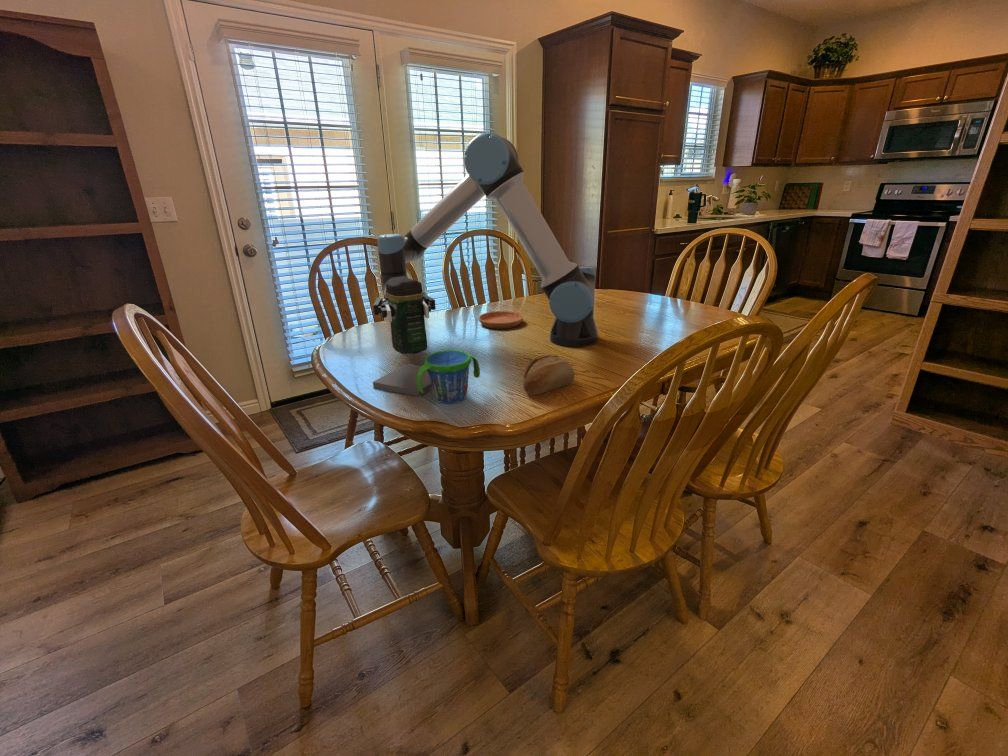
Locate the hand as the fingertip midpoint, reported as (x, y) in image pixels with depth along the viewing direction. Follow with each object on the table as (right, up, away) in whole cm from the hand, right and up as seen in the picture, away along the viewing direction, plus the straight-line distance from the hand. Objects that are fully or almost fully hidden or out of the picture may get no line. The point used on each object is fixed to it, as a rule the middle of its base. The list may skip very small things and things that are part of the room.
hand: (408, 314), depth 113 cm
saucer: (+22, +4, +56) cm, 61 cm away
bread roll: (+34, -18, +3) cm, 38 cm away
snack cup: (+10, -20, -2) cm, 23 cm away
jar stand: (-1, -16, +8) cm, 18 cm away
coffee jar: (-1, -8, +8) cm, 12 cm away
